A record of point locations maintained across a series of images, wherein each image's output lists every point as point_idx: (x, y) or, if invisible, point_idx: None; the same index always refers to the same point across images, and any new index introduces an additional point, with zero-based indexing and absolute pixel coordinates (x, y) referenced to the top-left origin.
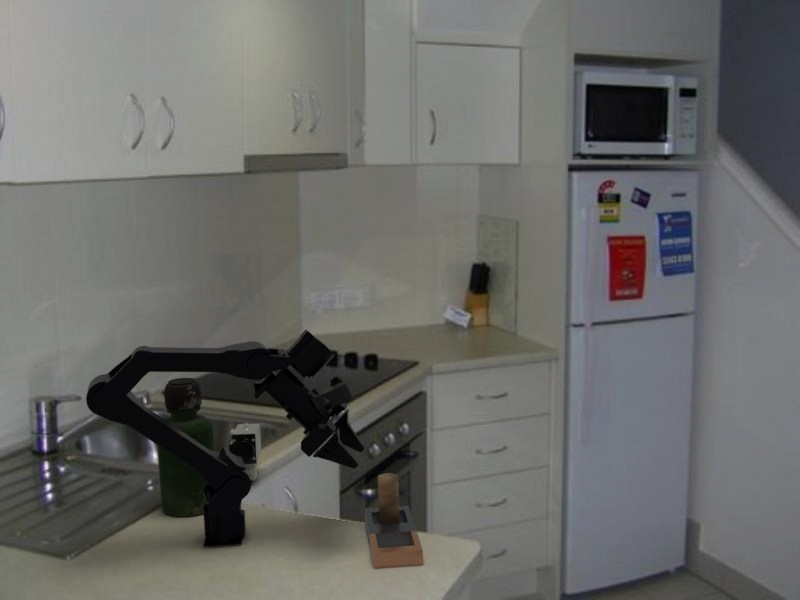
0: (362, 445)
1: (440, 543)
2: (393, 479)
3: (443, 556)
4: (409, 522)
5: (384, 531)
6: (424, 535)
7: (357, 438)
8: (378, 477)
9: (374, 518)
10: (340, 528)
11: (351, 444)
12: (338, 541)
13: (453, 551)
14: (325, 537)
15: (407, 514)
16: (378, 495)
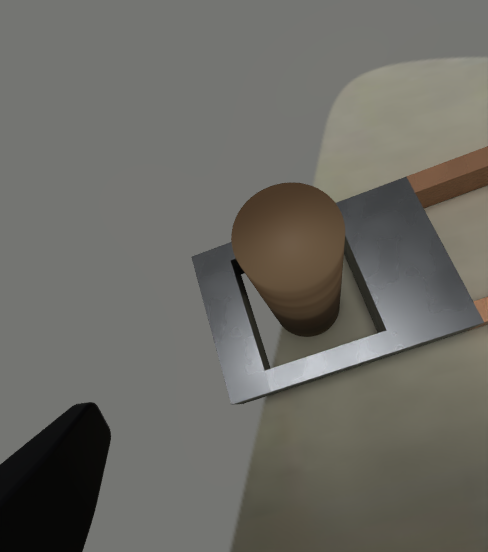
0: (72, 419)
1: (369, 145)
2: (325, 195)
3: (458, 116)
4: None
5: (442, 274)
6: None
7: (11, 485)
8: (311, 279)
9: (264, 361)
10: (313, 484)
11: (62, 544)
12: (436, 463)
13: (416, 103)
14: (411, 527)
15: None
16: (312, 307)
